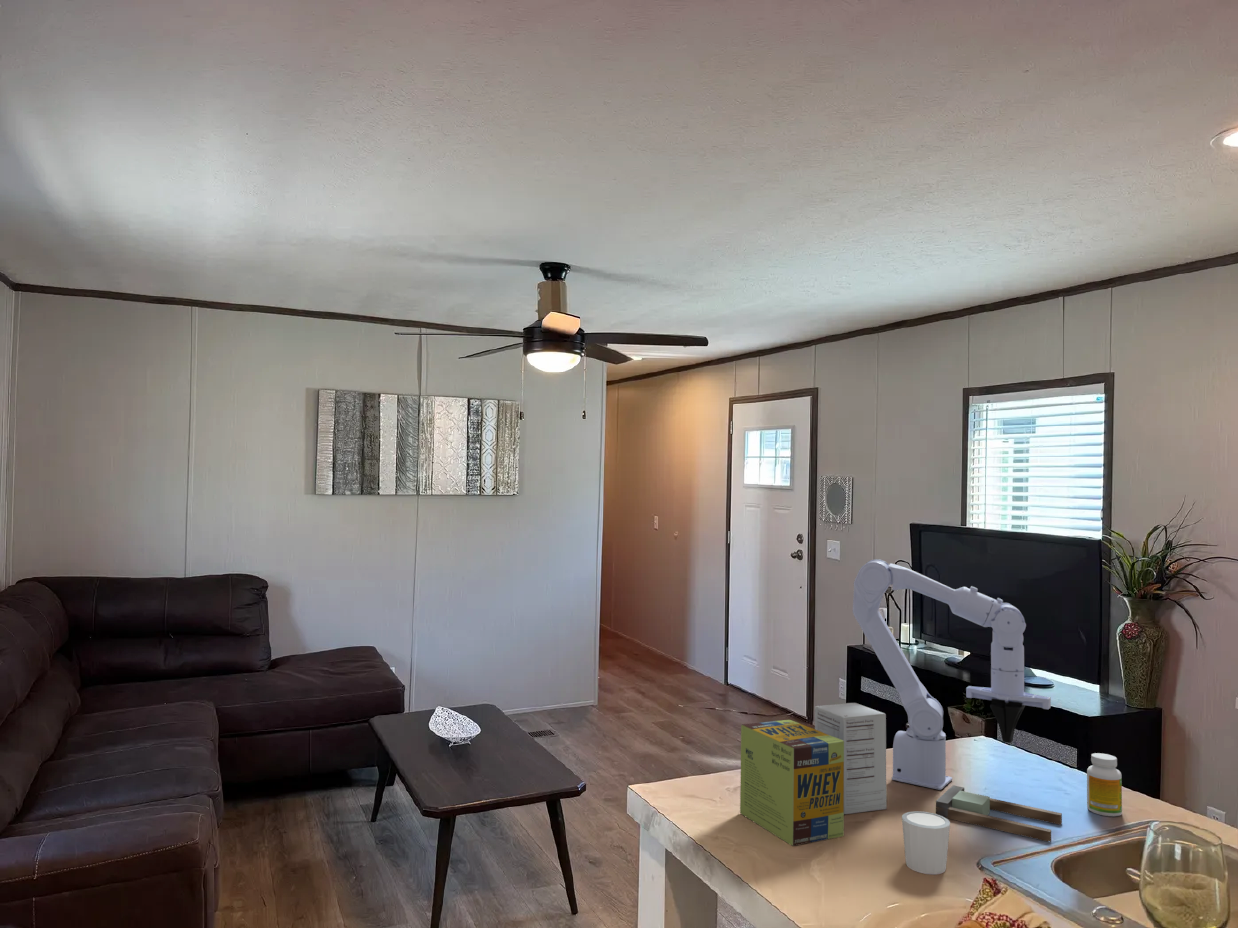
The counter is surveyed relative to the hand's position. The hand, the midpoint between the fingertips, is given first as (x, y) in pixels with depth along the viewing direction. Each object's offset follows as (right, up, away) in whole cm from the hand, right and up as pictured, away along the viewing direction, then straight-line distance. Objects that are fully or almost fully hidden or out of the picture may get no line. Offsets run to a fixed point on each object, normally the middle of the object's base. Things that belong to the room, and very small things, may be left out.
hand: (1007, 741), depth 161 cm
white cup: (-28, -8, -33) cm, 44 cm away
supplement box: (-32, -9, -8) cm, 34 cm away
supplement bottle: (+13, -9, -10) cm, 19 cm away
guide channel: (-8, -9, -14) cm, 19 cm away
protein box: (-45, -8, -18) cm, 49 cm away
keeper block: (-12, -9, -12) cm, 19 cm away
